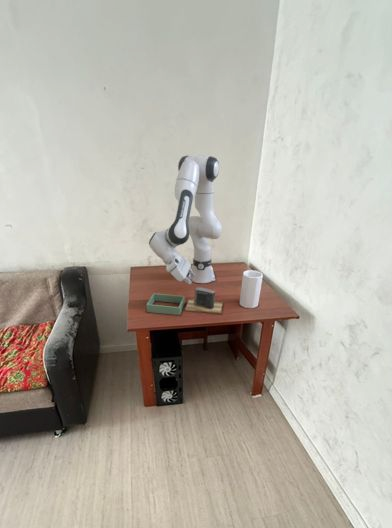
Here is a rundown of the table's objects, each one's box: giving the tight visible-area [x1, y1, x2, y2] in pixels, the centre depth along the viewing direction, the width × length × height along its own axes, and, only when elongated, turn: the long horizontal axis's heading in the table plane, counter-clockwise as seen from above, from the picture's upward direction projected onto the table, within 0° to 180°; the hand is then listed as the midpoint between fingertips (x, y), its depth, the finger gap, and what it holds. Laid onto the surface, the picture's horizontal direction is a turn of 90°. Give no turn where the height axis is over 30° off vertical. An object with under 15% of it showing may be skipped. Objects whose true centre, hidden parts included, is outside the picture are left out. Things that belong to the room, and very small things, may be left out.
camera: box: [193, 286, 216, 309], centre depth 162 cm, size 11×6×10 cm, turn 64°
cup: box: [239, 269, 264, 309], centre depth 165 cm, size 11×11×18 cm
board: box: [184, 299, 224, 315], centre depth 166 cm, size 12×20×1 cm, turn 81°
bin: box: [145, 292, 186, 316], centre depth 164 cm, size 14×18×4 cm
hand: (192, 279), depth 157 cm, fingers open, 8 cm apart
